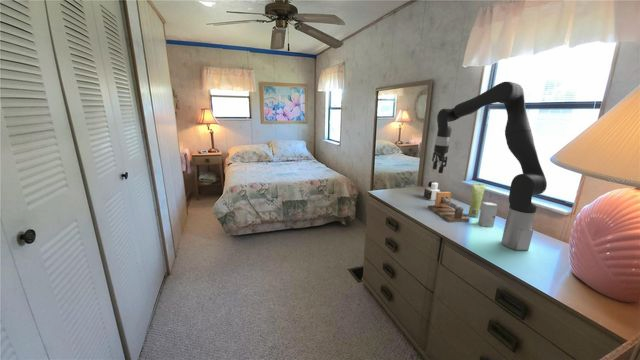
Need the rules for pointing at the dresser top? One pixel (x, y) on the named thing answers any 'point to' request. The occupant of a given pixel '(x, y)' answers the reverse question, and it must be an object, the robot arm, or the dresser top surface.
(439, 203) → the collar
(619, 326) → the dresser top surface
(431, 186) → the medicine bottle
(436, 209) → the pipe stand
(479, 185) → the tube
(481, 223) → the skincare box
